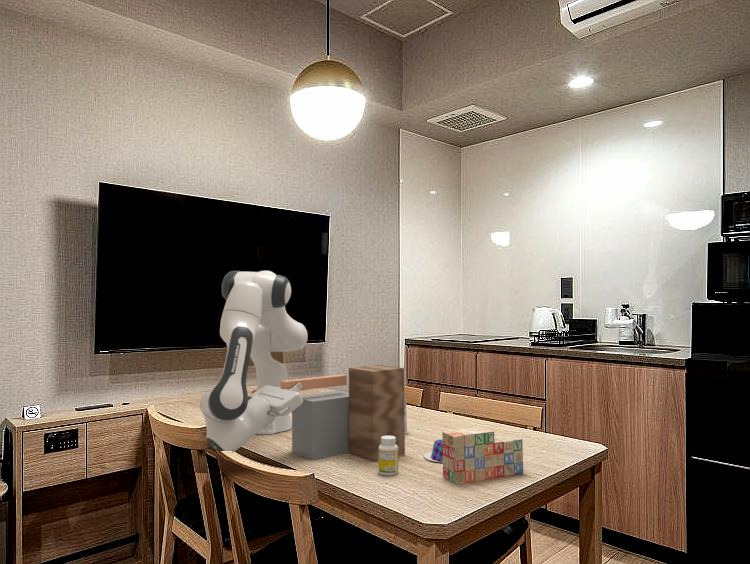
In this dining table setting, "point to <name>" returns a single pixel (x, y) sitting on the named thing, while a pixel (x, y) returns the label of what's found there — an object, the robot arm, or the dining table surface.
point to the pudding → (436, 452)
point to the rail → (315, 382)
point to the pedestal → (321, 425)
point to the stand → (375, 409)
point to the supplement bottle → (388, 456)
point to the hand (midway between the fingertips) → (296, 383)
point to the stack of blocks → (480, 455)
